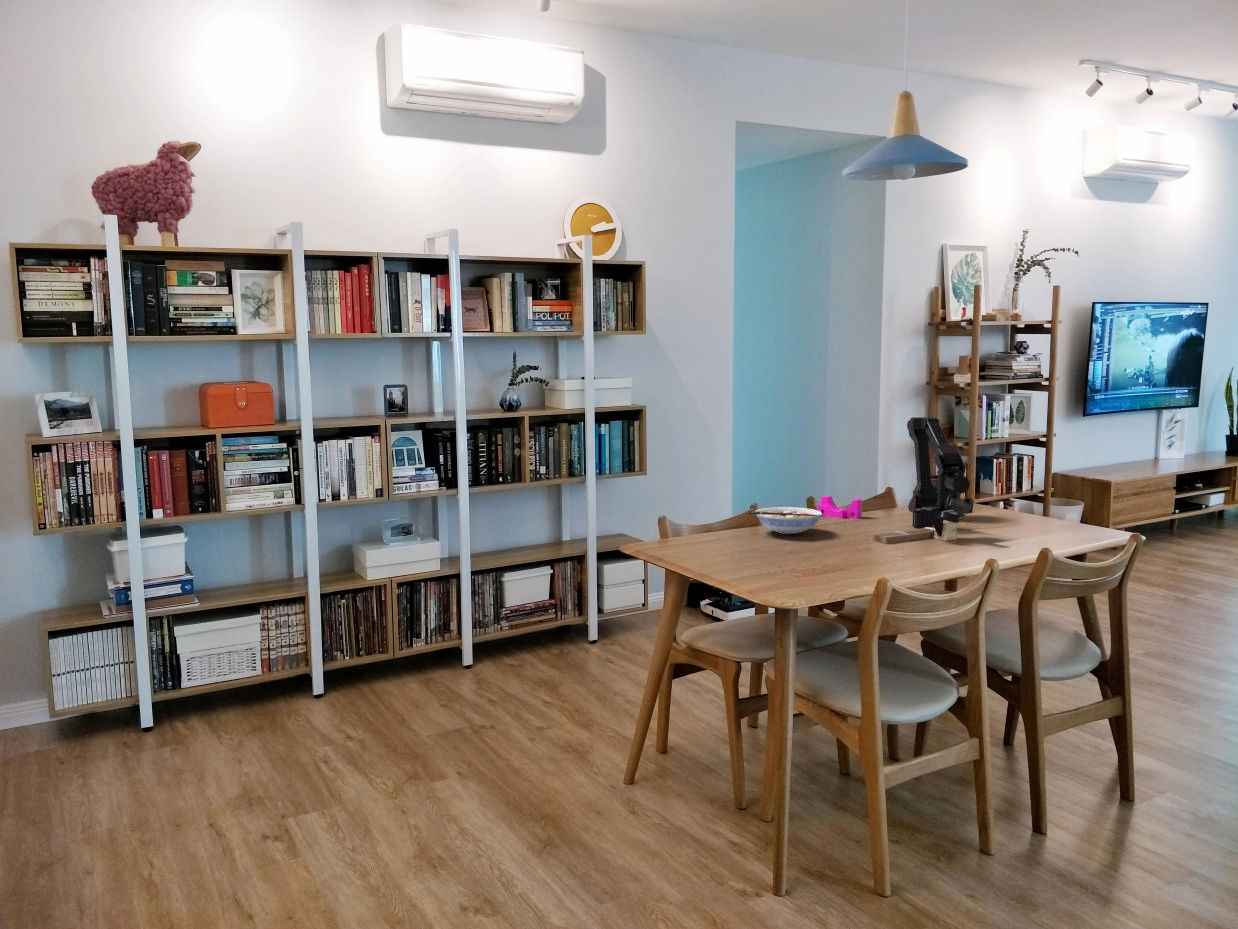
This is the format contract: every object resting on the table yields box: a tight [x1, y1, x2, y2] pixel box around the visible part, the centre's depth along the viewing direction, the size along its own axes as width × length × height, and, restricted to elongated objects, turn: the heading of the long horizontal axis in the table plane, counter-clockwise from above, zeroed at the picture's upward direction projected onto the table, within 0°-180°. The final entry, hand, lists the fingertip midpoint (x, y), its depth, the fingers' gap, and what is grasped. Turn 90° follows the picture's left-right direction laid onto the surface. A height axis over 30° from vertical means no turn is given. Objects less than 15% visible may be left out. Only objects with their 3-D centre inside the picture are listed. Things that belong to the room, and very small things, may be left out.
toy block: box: [816, 495, 863, 520], centre depth 364 cm, size 15×6×8 cm, turn 49°
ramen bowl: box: [748, 506, 825, 535], centre depth 334 cm, size 25×23×8 cm
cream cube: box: [931, 520, 958, 542], centre depth 322 cm, size 6×5×6 cm
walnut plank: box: [872, 526, 935, 545], centre depth 324 cm, size 6×28×2 cm, turn 119°
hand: (945, 535), depth 322 cm, fingers closed on cream cube, 5 cm apart
